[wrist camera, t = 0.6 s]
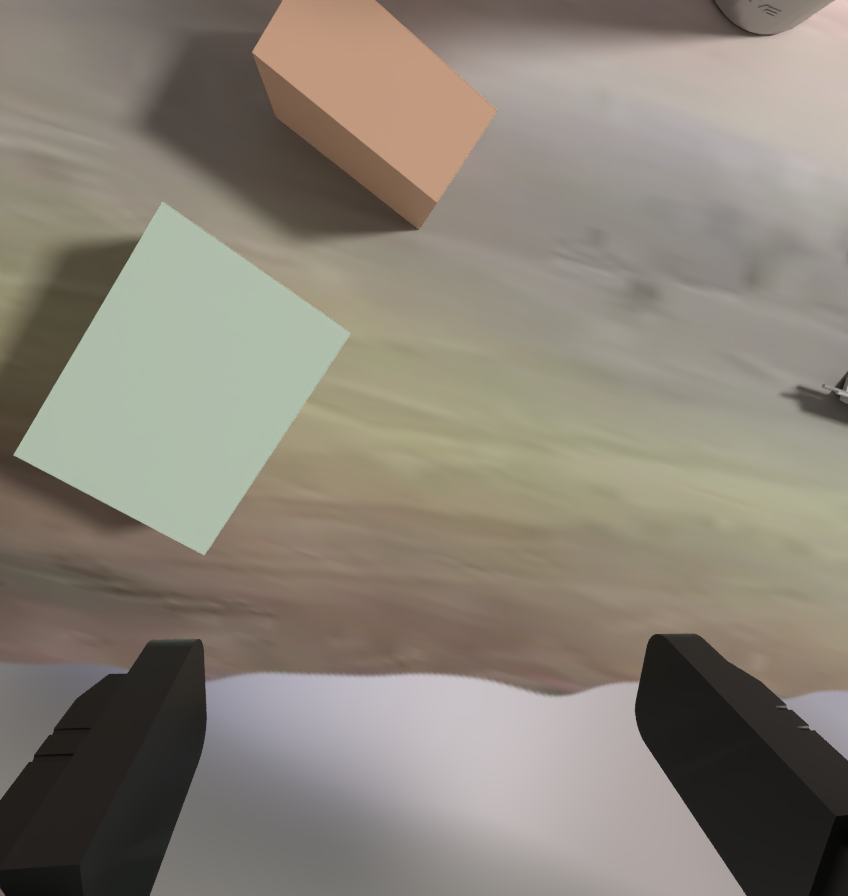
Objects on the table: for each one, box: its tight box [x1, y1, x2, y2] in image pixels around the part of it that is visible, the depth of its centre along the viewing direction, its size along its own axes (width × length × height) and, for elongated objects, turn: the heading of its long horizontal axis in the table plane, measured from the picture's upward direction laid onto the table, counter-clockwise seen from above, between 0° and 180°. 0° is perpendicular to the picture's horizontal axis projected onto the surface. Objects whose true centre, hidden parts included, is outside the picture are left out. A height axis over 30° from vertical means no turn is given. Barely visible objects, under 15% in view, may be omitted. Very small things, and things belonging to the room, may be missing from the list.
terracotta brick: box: [252, 0, 498, 230], centre depth 26 cm, size 5×10×7 cm, turn 55°
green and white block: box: [14, 202, 351, 555], centre depth 28 cm, size 14×10×7 cm
